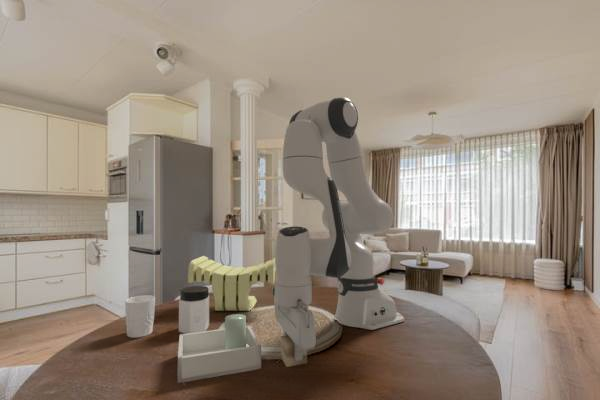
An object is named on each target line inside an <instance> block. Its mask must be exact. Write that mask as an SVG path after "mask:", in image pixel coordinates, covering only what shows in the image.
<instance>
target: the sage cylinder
mask: <svg viewBox="0 0 600 400" xmlns="http://www.w3.org/2000/svg"><path fill="white" fill-rule="evenodd" d="M246 326H247V316H246V315H245V314H241V313H236V314H235V313H233V314H230V315H226V316H225V317H224V329H225V350H229V349H235V348H242V347H246Z"/></svg>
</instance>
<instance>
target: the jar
mask: <svg viewBox="0 0 600 400" xmlns="http://www.w3.org/2000/svg"><path fill="white" fill-rule="evenodd" d="M179 291H180V294H179V295H180V297H179V299H178V333H180V334H187V333H195V332H203V331H207V330H208V328H209V326H210V295H209V287H207V286H203V285H195V286H194V285H192V286H187V287H183V288H182V289H180V290H179Z"/></svg>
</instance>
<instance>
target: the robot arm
mask: <svg viewBox="0 0 600 400" xmlns="http://www.w3.org/2000/svg"><path fill="white" fill-rule="evenodd" d="M358 120H359V114H358V110H357V107H356V105H355V104H354V103H353V102H352V101H351V100H350V99H349V98H347V97H335V98H332V99H329V100H324V101H321V102H318V103H314V105H311V106H308V107H307V108H304V109H300V110H298V111H296V112H295V113H294V114H293V115H292V116H291V117H290V120H289V123H288V126H287V127H286V131H285V134H284V140H283V146H282V147H283V148H282V149H283V150H282V176H283V179H284V181H285V182H286V184H287V185H288V186H289V187H290V188H291V189H293V190H294V191H296V192H298V193H300V194H303V195H306V196H309V197H311V198H312V199H313V198H314V199H315V200H317V201H319V202H320V203H321V204H322V205H323V207H324V208H323V210H322V213H321V220H322V221H321V222H322V224H323V226H324V227H325V229H327V230H328V235H329V236H328V237H327V238H313V237H312V238H310V232H309V230H308V228H306V227H303V226H289V227H283V228H281V229H280V230H279V231H278V233H277V237H276V243H275V252H274V253H275V254H274V255H275V256H274V258H275V266H276V275H275V282H274V286H273V287H272V289H271V294H272V296H273V301H274V302H273V305H274V306H273V307H274V317H275V321H276V323H278V324H279V326H280V327H281V328H282V330H283V336H287V335H288V336H289V337H290V338H291V340H292V341H293V342H294V346H295V351H293V357H294V359H295V360H296V361H300V360H302V359H303V350H307V351H308V350H312V349H315V346H316V343H317V338H316V337H317V336H316V324H315V323H316V322H315V317H314V314H313V311H311V310H310V309H309V305H311V303H312V302H313V301H312V300H313V299H312V297H313V296H312V295H313V293H312V276H325V277H329V278H335V279H337V292H338V299H337V305H336V309H335V310H336V311H335V315H334V318H336V319H337V320H338V321H339V322H340V323H339V324H340V325H343V326H347V327H352V328H360V329H364V330H369V331H370V330H371V331H372V330H378V329H380V328H385V327H389V326H392V325H396V324H399V323H403V322H405V317H404V316H403V314H401V313H399V312H398V311H397V307H396V302H395V301H394V299H393V298H392V297H390V295H388V294H387V293H386V292H384V291H383V290H382V289H381V288H379V285H380V286H383V285H384V284H385V283H386V281H385V280H384V278H381V277H376V276H375V275H374V254H373V251H372V250H371V248H369V247H368V246H366V245H365V243H364V242H363V241H362V239H361V235H370V236H373V235H379V234H385V233H387V232H389V230H390V229H391V227H392V225H393V222H394V213H393V210H392V208H391V206H390V205H389V204H388V202H386V201H384V200H383V199H381V198H380V197H379V196H378V195H377V193H376V192H375V191H374V190H373V188H372V185H371V184H370V183H369V180H368V176H367V173H366V169H365V164H364V158H363V152H362V148H361V144H360V140H359V138H358V137H359V136H358V135H357V131H356V129H357V128H358V123H359V122H358ZM322 143H324V144H325V147H326V148H325V150H326V157H327V163H328V164H327V165H328V168H329V174H330V176H328V174H327V173H326V170H325V168H324V157H323V156H324V155H323V154H324V153H323V152H324V151H323V144H322ZM338 191H339V192H341V194H343V196H344V197H345V198H346V200H340V199H339V194H338V193H339V192H338ZM378 284H379V285H378Z"/></svg>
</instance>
